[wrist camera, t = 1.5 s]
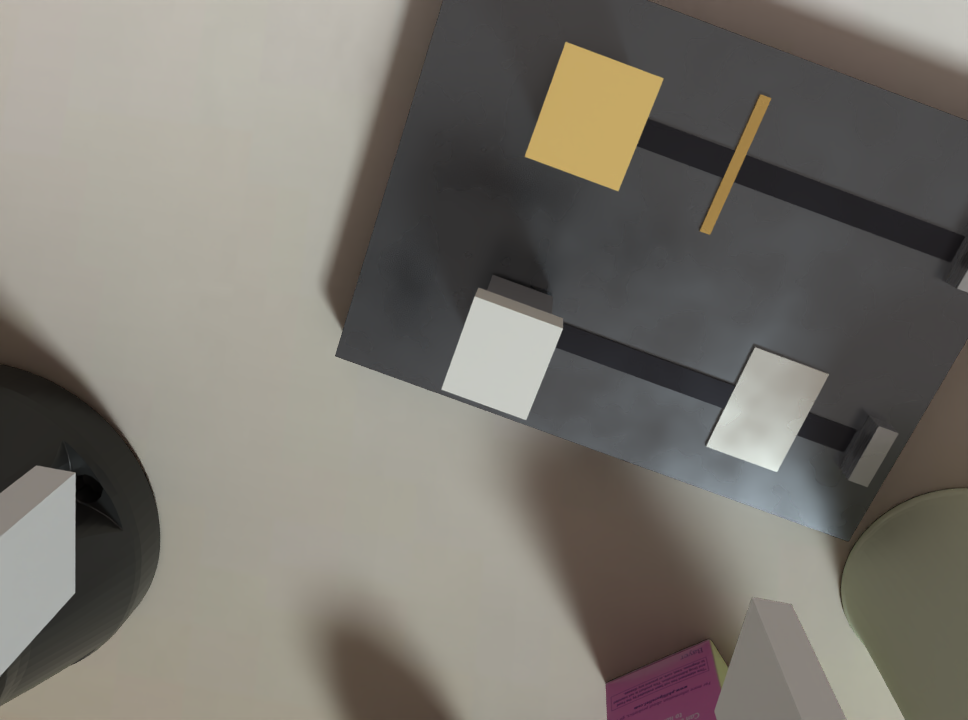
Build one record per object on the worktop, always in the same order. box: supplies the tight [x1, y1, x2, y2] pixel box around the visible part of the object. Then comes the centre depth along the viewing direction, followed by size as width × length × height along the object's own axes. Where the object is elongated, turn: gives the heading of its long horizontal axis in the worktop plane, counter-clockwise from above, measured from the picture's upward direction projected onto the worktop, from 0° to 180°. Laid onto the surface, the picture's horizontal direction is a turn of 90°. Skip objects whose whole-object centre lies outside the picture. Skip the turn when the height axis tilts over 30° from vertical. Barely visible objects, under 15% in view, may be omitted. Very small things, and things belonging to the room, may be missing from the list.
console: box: [335, 0, 968, 541], centre depth 31 cm, size 22×16×3 cm
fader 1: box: [441, 275, 563, 420], centre depth 29 cm, size 3×3×5 cm
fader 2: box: [525, 42, 664, 191], centre depth 26 cm, size 3×3×5 cm
